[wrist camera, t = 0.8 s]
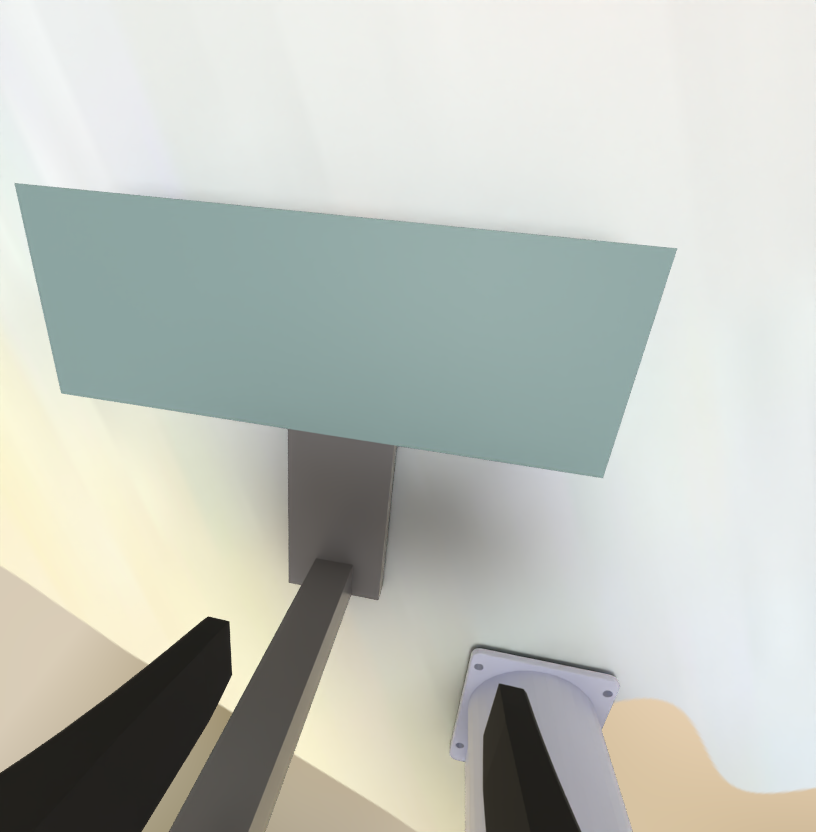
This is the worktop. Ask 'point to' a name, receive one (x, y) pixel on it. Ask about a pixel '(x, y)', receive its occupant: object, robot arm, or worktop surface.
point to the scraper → (299, 625)
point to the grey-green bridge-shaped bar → (347, 323)
